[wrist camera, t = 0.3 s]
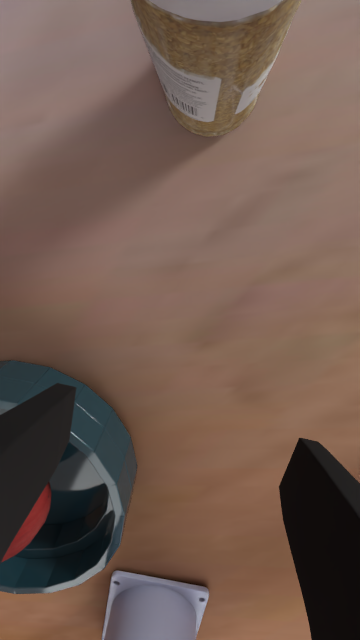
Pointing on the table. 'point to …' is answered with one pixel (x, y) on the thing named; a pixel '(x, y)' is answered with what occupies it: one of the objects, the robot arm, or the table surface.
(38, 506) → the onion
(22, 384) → the bowl
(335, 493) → the robot arm
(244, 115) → the sprinkles bottle
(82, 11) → the table surface
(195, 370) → the table surface
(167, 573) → the table surface
